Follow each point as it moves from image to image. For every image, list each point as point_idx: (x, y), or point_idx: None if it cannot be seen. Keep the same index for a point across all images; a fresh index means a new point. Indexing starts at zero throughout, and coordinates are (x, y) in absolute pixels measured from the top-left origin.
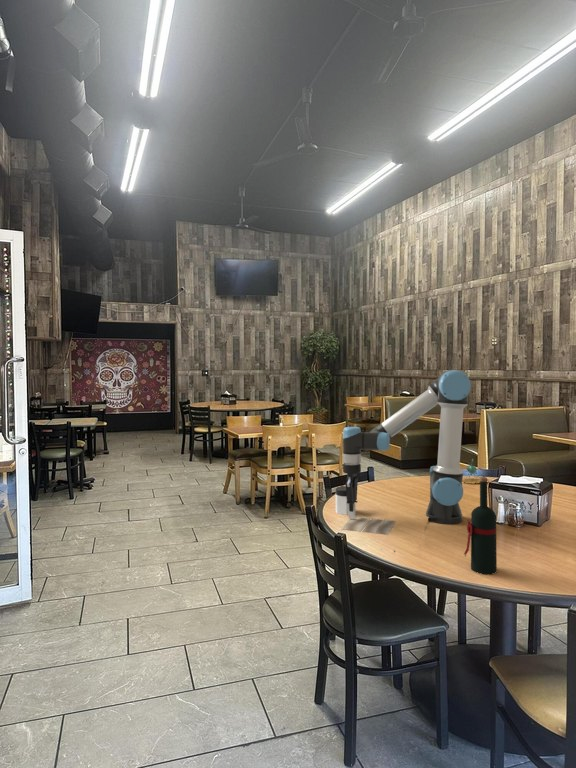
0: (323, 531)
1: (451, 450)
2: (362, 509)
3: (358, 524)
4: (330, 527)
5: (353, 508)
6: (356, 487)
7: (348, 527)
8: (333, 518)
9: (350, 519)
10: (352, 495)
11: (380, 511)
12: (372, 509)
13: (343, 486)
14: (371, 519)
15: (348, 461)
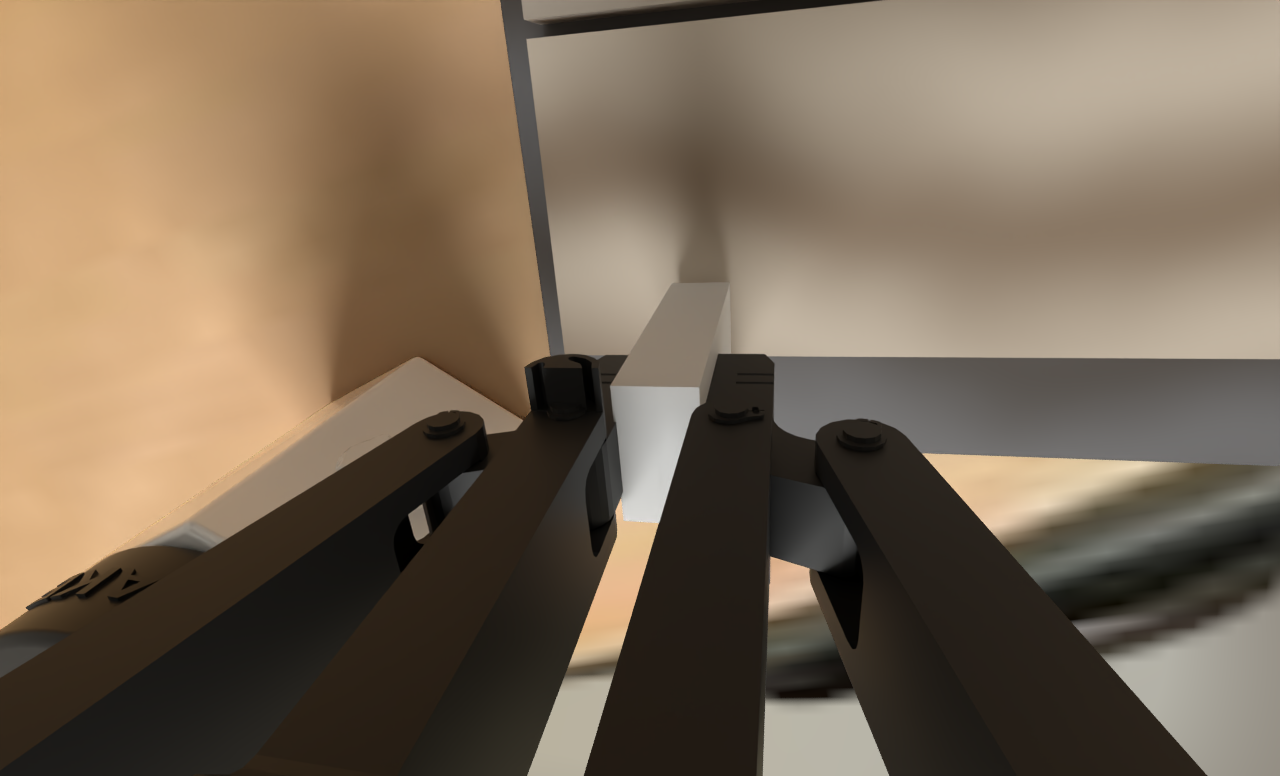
0: (1220, 568)
1: None
2: (133, 327)
3: (961, 144)
4: (1010, 522)
5: (712, 368)
6: (154, 671)
7: (1207, 264)
8: (627, 555)
9: (732, 344)
10: (985, 603)
11: (32, 67)
12: (45, 207)
13: None
14: (568, 7)
15: None
